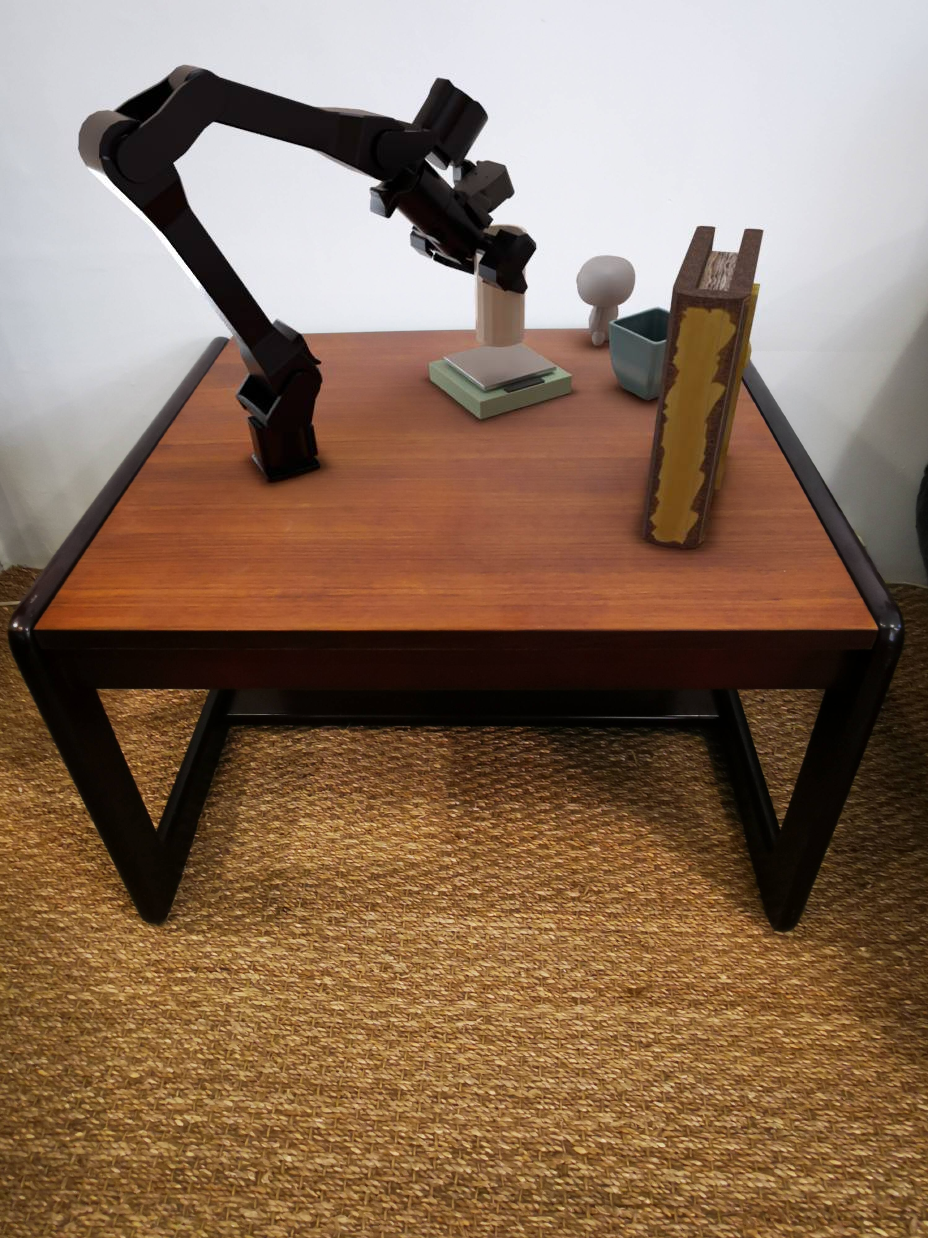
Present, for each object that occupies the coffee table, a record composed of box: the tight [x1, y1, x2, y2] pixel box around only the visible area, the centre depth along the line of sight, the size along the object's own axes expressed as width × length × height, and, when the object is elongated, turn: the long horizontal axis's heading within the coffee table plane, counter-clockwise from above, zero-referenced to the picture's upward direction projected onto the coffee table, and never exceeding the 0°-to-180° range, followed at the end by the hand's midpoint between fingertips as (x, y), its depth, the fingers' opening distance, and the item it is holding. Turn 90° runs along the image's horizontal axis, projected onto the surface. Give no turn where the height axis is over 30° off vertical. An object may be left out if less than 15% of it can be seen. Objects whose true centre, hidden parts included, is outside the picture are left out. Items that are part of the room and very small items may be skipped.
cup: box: [473, 223, 528, 347], centre depth 103 cm, size 6×6×13 cm
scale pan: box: [443, 342, 557, 391], centre depth 110 cm, size 11×11×1 cm
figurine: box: [575, 254, 636, 347], centre depth 118 cm, size 8×8×12 cm
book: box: [640, 225, 764, 550], centre depth 83 cm, size 22×8×25 cm, turn 162°
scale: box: [428, 342, 573, 421], centre depth 111 cm, size 14×14×3 cm
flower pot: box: [608, 306, 670, 401], centre depth 107 cm, size 9×9×9 cm
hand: (508, 283), depth 104 cm, fingers closed on cup, 6 cm apart
